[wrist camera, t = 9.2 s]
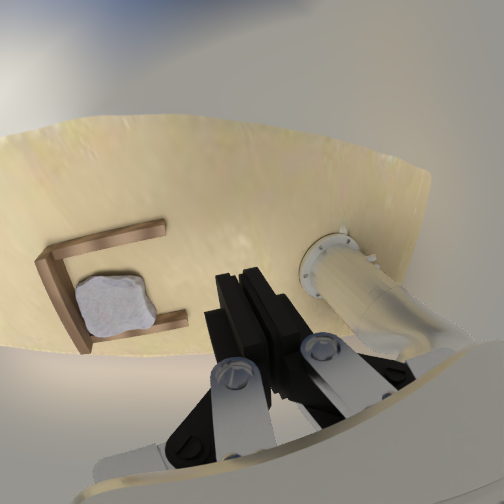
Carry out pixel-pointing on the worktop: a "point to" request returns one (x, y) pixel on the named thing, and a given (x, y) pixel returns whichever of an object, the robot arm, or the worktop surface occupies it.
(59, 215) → the worktop surface
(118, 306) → the stone block
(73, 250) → the brown u-shaped frame
